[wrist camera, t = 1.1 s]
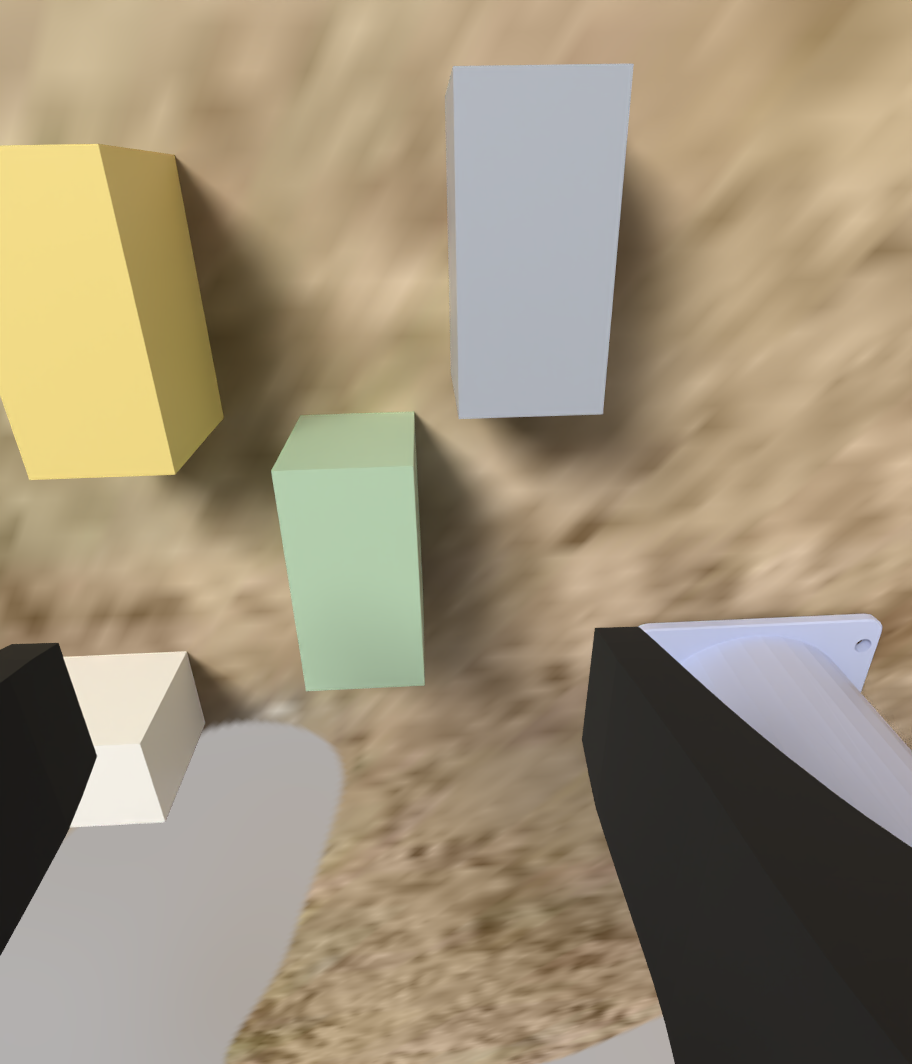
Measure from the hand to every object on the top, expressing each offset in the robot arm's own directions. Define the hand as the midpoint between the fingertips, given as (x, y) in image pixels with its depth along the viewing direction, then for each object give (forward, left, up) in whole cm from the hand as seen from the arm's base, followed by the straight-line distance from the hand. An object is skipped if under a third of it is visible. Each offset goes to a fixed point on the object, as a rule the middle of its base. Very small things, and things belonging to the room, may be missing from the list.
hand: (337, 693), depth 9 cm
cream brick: (-8, +9, -10) cm, 16 cm away
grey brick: (+5, -4, -10) cm, 12 cm away
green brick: (-2, 0, -10) cm, 10 cm away
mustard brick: (+4, +5, -10) cm, 12 cm away
